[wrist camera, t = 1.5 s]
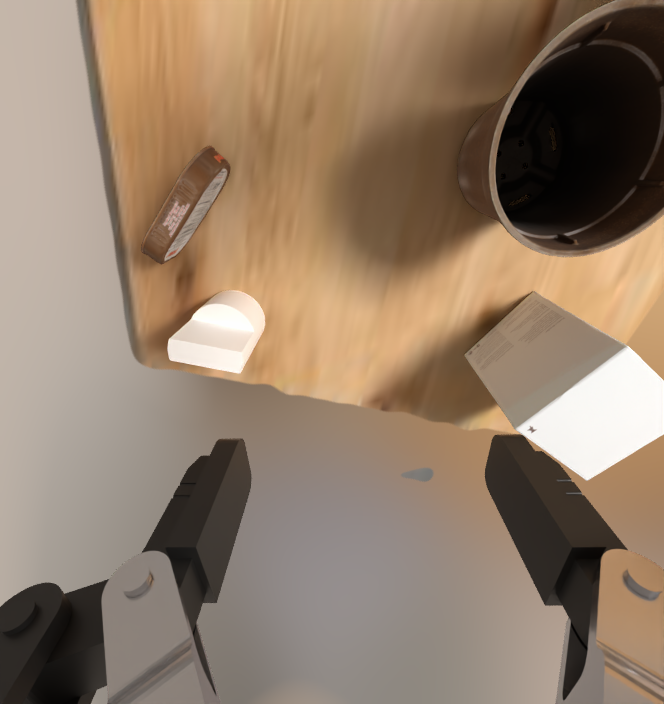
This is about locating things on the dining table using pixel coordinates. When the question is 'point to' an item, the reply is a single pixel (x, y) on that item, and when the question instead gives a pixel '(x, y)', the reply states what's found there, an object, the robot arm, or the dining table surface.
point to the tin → (186, 205)
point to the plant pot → (578, 137)
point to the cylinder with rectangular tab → (220, 333)
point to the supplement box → (569, 386)
